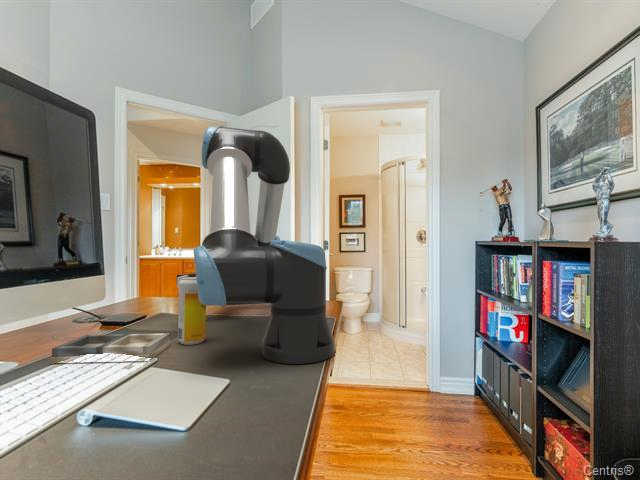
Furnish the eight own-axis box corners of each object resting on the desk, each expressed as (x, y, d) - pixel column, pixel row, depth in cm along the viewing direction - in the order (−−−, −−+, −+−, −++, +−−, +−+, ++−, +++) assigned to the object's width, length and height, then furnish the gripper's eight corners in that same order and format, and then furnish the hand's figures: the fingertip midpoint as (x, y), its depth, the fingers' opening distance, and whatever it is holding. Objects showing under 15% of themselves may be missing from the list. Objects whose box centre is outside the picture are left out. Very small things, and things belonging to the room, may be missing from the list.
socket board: (170, 345, 73) (170, 332, 73) (148, 361, 62) (148, 347, 62) (87, 347, 72) (87, 334, 72) (49, 364, 61) (50, 349, 61)
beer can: (211, 340, 77) (211, 277, 77) (188, 347, 72) (189, 279, 72) (195, 337, 80) (195, 276, 81) (172, 343, 75) (173, 278, 76)
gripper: (260, 286, 109) (251, 295, 87) (184, 286, 107) (156, 296, 86) (260, 263, 109) (251, 268, 88) (184, 263, 107) (156, 268, 86)
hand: (204, 282), depth 87 cm, fingers open, 13 cm apart
